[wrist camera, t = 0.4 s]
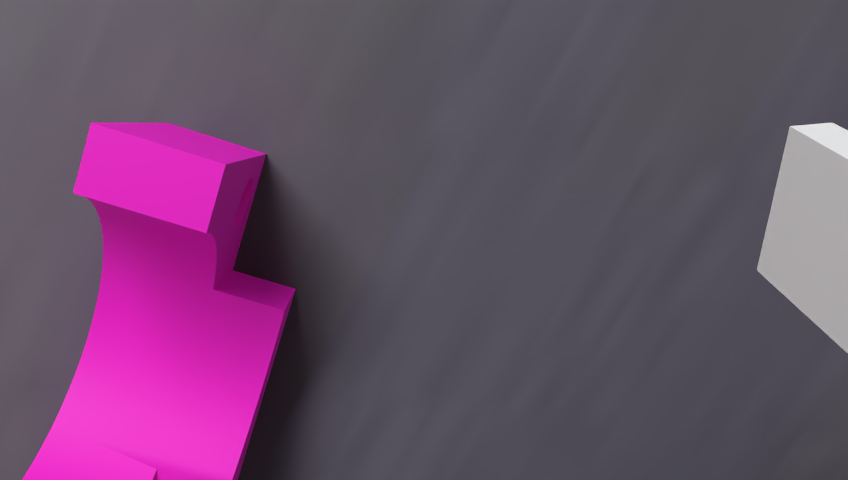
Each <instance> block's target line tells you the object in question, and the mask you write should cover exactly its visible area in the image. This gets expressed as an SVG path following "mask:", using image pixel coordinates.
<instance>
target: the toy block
mask: <svg viewBox="0 0 848 480" xmlns="http://www.w3.org/2000/svg"><path fill="white" fill-rule="evenodd" d="M265 157H266V154H265V153H262V152H259V151H256V150H252V149H249V148H246V147H243V146H240V145H237V144H233V143H230V142H227V141H224V140H221V139H218V138H214V137H211V136H208V135H205V134H202V133H198V132H195V131H192V130H189V129H186V128H183V127H179V126H176V125H173V124H170V123H91V125H90V129H89V133H88V137H87V141H86V145H85V148H84V152H83V156H82V160H81V164H80V168H79V172H78V176H77V180H76V184H75V188H74V192H73V193H74V194H78V195H81V196H84V197H87V198H88V199H89V200H90V201H91V202H92V203H93V205H94V207H95V208H96V210H97V213H98V215H99V218H100V222H101V226H102V233H103V265H102V275H101V282H100V288H99V294H98V299H97V304H96V308H95V313H94V317H93V320H92V324H91V328H90V331H89V335H88V338H87V341H86V345H85V348H84V351H83V354H82V357H81V360H80V362H79V365H78V368H77V370H76V373H75V376H74V378H73V381H72V383H71V386H70V388H69V391H68V393H67V395H66V398H65V400H64V402H63V405H62V407H61V409H60V411H59V413H58V415H57V417H56V420H55V422H54V424H53V426H52V428H51V430H50V432H49V434H48V436H47V438H46V440H45V441H44V443H43V445H42V447H41V449H40V451H39V452H38V454H37V456H36V458H35V459H34V461H33V463H32V464H31V466H30V468H29V470H28V471H27V473H26V474H25V476H24V478H23V479H22V480H238V478H239V475H240V471H241V468H242V465H243V461H244V458H245V455H246V452H247V448H248V445H249V442H250V438H251V435H252V432H253V428H254V425H255V422H256V419H257V415H258V412H259V409H260V405H261V402H262V399H263V395H264V392H265V389H266V385H267V382H268V379H269V376H270V372H271V369H272V366H273V362H274V359H275V356H276V352H277V349H278V346H279V343H280V339H281V336H282V333H283V329H284V326H285V323H286V319H287V316H288V313H289V310H290V306H291V303H292V300H293V296H294V293H295V290H296V289H294V288H291V287H288V286H284V285H281V284H278V283H274V282H271V281H267V280H264V279H261V278H257V277H254V276H251V275H247V274H244V273H241V272H237V271H234V270H233V268H234V264H235V261H236V257H237V254H238V250H239V247H240V244H241V240H242V237H243V233H244V230H245V226H246V223H247V219H248V216H249V212H250V209H251V206H252V202H253V199H254V195H255V192H256V188H257V185H258V181H259V178H260V175H261V171H262V168H263V164H264V161H265Z"/></svg>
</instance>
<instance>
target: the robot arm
mask: <svg viewBox="0 0 848 480" xmlns="http://www.w3.org/2000/svg"><path fill="white" fill-rule="evenodd" d="M757 271H758V272H759V273H760V274H762V275H763V276H764V277H765V278H766V279H767V280H768V281H769V282H770V283H771V284H772V285H774V286H775V287H776V288H777V289H778V290H779V291H780V292H781V293H782V294H783V295H784V296H786V297H787V298H788V299H789V300H790V301H791V302H792V303H793V304H794V305H795V306H797V307H798V308H799V309H800V310H801V311H802V312H803V313H804V314H805V315H806V316H807V317H809V318H810V319H811V320H812V321H813V322H814V323H815V324H816V325H817V326H818V327H819V328H821V329H822V330H823V331H824V332H825V333H826V334H827V335H828V336H829V337H830V338H831V339H833V340H834V341H835V342H836V343H837V344H838V345H839V346H840V347H841V348H842V349H843V350H845V351H846V352H847V353H848V131H847V130H846V129H844V128H842V127H840V126H838V125H836V124H834V123H823V124H811V125H800V126H790V128H789V132H788V136H787V141H786V145H785V150H784V154H783V158H782V163H781V167H780V171H779V176H778V180H777V184H776V189H775V193H774V197H773V202H772V206H771V211H770V215H769V219H768V224H767V228H766V232H765V237H764V241H763V245H762V250H761V254H760V258H759V263H758V267H757Z"/></svg>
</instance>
